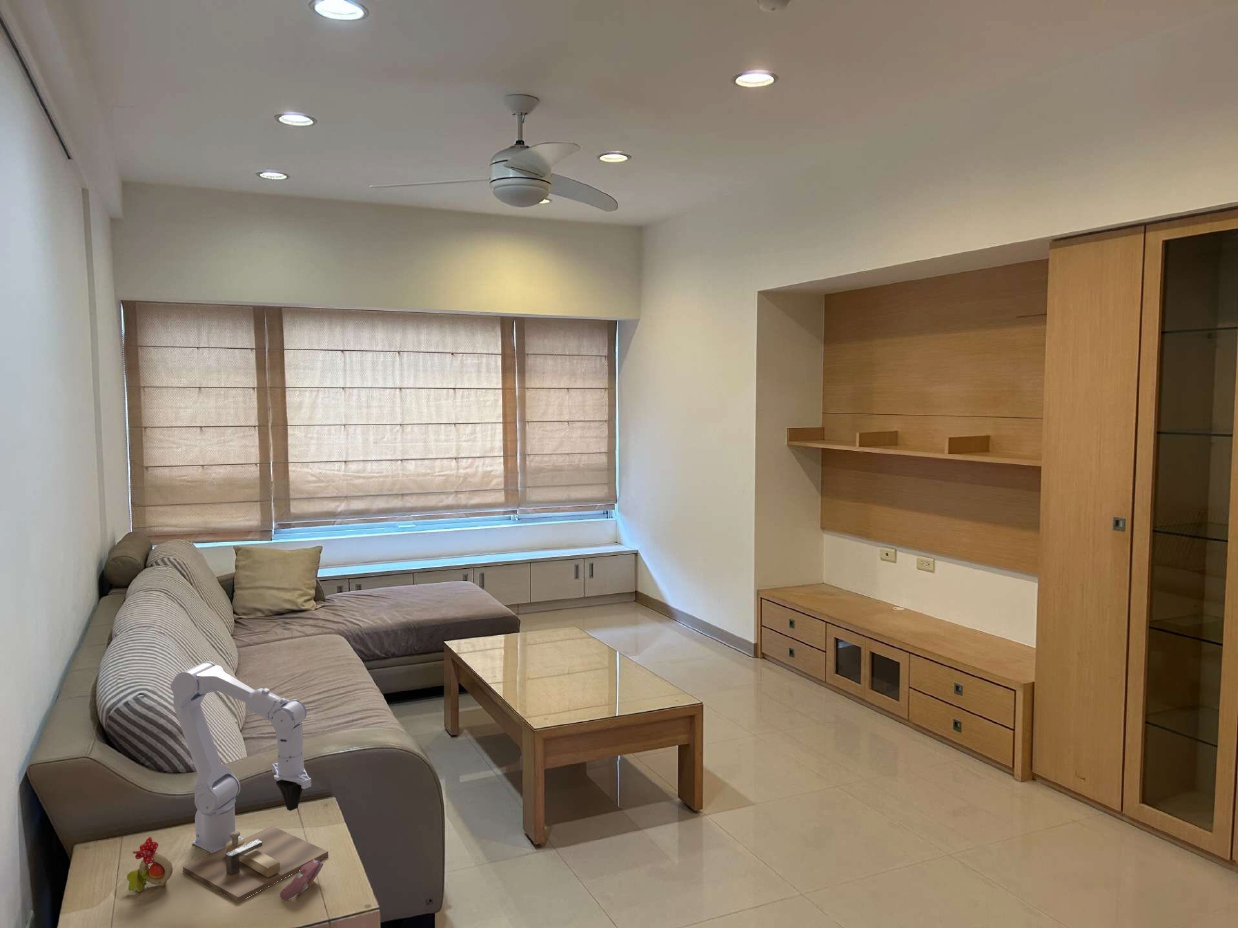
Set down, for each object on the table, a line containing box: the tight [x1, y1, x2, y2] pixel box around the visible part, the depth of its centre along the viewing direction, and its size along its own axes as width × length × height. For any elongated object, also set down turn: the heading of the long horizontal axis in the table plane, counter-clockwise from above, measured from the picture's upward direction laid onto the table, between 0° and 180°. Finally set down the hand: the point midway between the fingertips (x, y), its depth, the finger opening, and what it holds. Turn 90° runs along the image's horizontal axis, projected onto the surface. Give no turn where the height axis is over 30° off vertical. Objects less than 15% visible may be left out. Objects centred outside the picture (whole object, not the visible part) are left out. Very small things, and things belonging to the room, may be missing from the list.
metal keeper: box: [226, 839, 262, 876], centre depth 201 cm, size 2×8×5 cm, turn 145°
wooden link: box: [226, 830, 280, 877], centre depth 202 cm, size 18×4×5 cm, turn 53°
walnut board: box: [182, 825, 329, 903], centre depth 205 cm, size 22×23×1 cm
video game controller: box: [279, 859, 324, 901], centre depth 194 cm, size 10×5×7 cm, turn 169°
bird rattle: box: [126, 836, 174, 893], centre depth 195 cm, size 6×11×9 cm
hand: (292, 808), depth 210 cm, fingers closed
